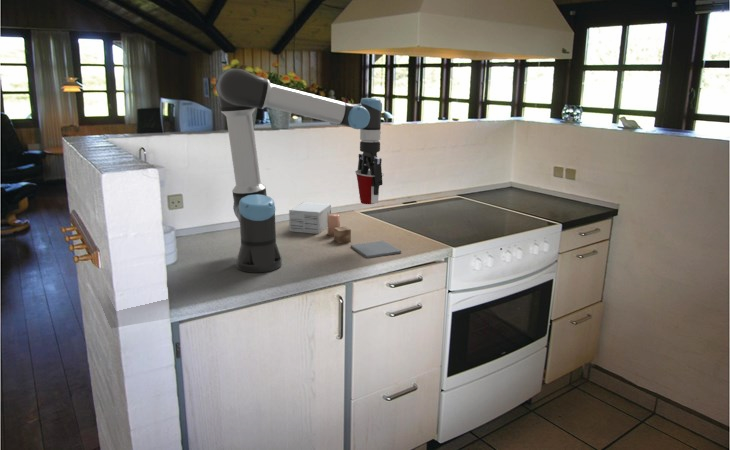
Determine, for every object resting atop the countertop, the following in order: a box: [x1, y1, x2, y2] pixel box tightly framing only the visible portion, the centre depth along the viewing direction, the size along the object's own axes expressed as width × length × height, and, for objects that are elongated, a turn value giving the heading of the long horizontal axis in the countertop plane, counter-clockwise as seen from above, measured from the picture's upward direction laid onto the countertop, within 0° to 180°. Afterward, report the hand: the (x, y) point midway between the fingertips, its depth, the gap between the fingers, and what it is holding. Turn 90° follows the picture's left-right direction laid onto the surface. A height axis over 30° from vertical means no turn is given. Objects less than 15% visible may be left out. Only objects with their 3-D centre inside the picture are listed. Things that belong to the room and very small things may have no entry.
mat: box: [350, 240, 402, 259], centre depth 205 cm, size 14×14×1 cm
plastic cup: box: [354, 169, 384, 205], centre depth 208 cm, size 11×11×12 cm
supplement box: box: [288, 201, 332, 235], centre depth 233 cm, size 17×13×9 cm
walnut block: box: [333, 226, 352, 244], centre depth 216 cm, size 5×5×5 cm
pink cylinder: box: [327, 213, 341, 237], centre depth 224 cm, size 5×5×8 cm
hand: (368, 200), depth 209 cm, fingers closed on plastic cup, 9 cm apart
